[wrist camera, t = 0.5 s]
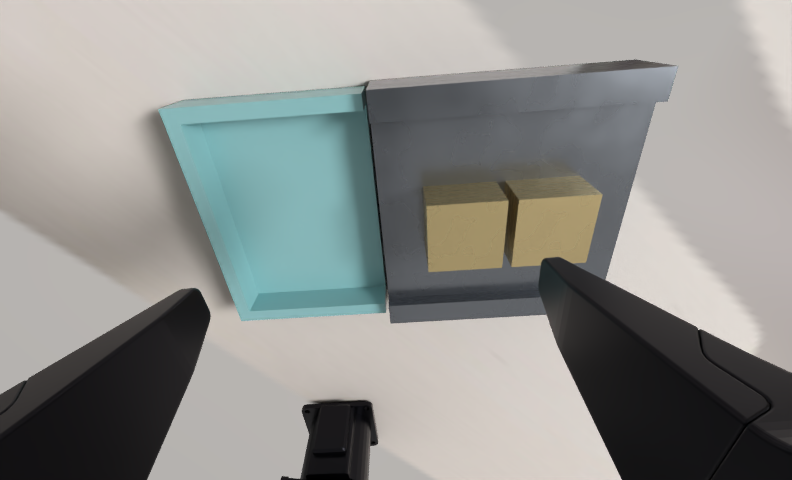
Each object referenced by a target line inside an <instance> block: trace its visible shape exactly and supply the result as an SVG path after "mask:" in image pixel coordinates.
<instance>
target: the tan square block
mask: <svg viewBox="0 0 792 480" xmlns="http://www.w3.org/2000/svg"><path fill="white" fill-rule="evenodd" d="M504 194H505V196H506V197H507V199H508V200H509V203H508V213H507V223H506V234H505V244H504V253H505V255H506V257H507V259H508V261H509V263H510V265H511V267H523V266H539V265H541V262H542V260H543V259H544V258H550V257H561V258H563V259H565V260H567V261H569V262H571V263H586V261H587V257H588V253H589V249H590V245H591V240H592V236H593V232H594V228H595V224H596V220H597V216H598V212H599V208H600V203H601V199H602V195H603V194H602V193H600V192H599V191H598V190H597V189H595V188H594V187H593V186H592V185H591V184H589V183H588V182H587V181H586V180H584V179H583V178H582V177H581V176H568V177H553V178H539V179H524V180H509V181H505V191H504Z"/></svg>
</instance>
